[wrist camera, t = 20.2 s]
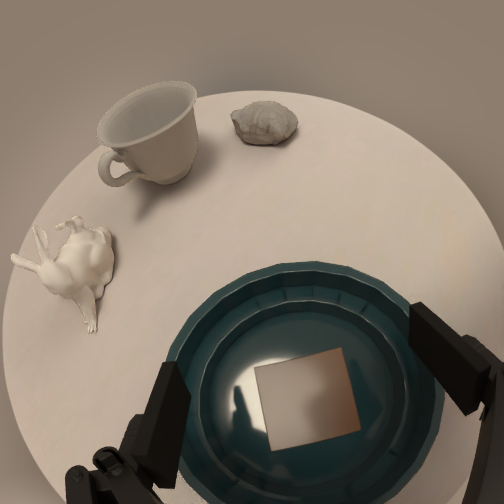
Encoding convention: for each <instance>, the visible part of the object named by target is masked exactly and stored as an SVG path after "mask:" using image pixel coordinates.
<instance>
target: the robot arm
mask: <svg viewBox="0 0 504 504" xmlns="http://www.w3.org/2000/svg"><path fill="white" fill-rule="evenodd" d="M408 345H409V347H410V348H411V349H412V350H413V351H414V353H415V354H416V355H417V356H418V357H419V359H420V360H421V361H422V362H423V363H424V365H425V366H426V367H427V368H428V369H429V371H430V372H431V373H432V374H433V376H434V377H435V378H436V379H437V381H438V382H439V383H440V384H441V386H442V387H443V388H444V389H445V391H446V392H447V393H448V395H449V396H450V397H451V398H452V400H453V401H454V402H455V404H456V405H457V406H458V407H459V409H460V410H461V411H462V413H463V414H464V415H465V416H467V415H469V414H471V413H472V412H474V411H476V410H478V407H479V404H480V402H481V401H482V402H483V404H484V405H485V406H484V409H483V411H482V414H481V416H480V419H479V420H481V419H482V421H481V428H480V433H479V439H478V444H477V449H476V454H475V458H474V462H473V466H472V470H471V474H470V478H469V482H468V485H467V489H466V492H465V495H464V498H463V501H462V504H504V362H502V361H500V360H499V359H498V358H497V357H496V356H495V355H494V354H493V353H492V352H491V351H489V350H488V349H487V348H486V347H485V346H484V345H483V344H481V343H480V342H479V341H478V340H477V339H476V338H474V337H472V336H469V335H467V334H466V335H464V336H462V337H461V336H460V335H459V334H457V333H456V332H455V331H454V330H453V329H452V328H451V327H450V326H448V325H447V324H446V323H445V322H444V321H443V320H442V319H440V318H439V317H438V316H437V315H436V314H435V313H433V312H432V311H431V310H430V309H429V308H428V307H426V306H425V305H424V304H423V303H422V302H417V303H415V304H412V305H409V339H408ZM191 398H192V396H191V394H190V392H189V390H188V388H187V385H186V383H185V381H184V379H183V377H182V375H181V372H180V370H179V368H178V366H177V363H176V361H169V362H163V363H162V365H161V368H160V371H159V373H158V376H157V379H156V381H155V384H154V387H153V390H152V392H151V395H150V398H149V401H148V403H147V406H146V409H145V412H144V414H136V415H135V416H134V417H133V418H132V419H131V420H130V422H129V424H128V427H127V431H126V432H125V435H124V437H123V440H122V443H121V445H120V448H119V451H118V450H117V449H116V448H114V447H111V446H110V447H104V448H101V449H99V450H98V451H97V452H96V453H95V454H94V456H93V459H92V460H93V464H94V465H95V466H96V467H97V469H98V470H94V471H88V470H87V469H86V468H85V467H84V466H81V465H77V466H74V467H71V468H70V469H69V470H68V471H67V473H66V476H65V487H66V501H67V504H164V503H163V502H162V501H161V499H160V498H159V497H158V495H157V494H156V493H155V491H154V490H153V489H152V487H153V482H154V483H155V484H156V485H157V487H158V488H165V489H175V484H176V478H177V472H178V467H179V461H180V455H181V450H182V445H183V439H184V434H185V429H186V423H187V418H188V413H189V408H190V403H191Z"/></svg>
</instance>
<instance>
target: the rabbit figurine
mask: <svg viewBox="0 0 504 504" xmlns="http://www.w3.org/2000/svg"><path fill="white" fill-rule="evenodd" d="M65 227H70V228H71V230H72V233H71V234H70V236H69V239H68V242H67V243H66V244H64V245H63V246H62V247H60V251H59V253H58V256H57V257H56V258H55V260H54V261H53V260H52V259H51V258H50V255H49V250H48V239H47V235H46V233H45V232H44V230H43V229H41V228H40V227H38V226H36V225H33V226H32V228H33V232H34V236H35V241H36V246H37V249H38V252H39V255H40V258H41V261H42V264H41V265H39V264H37V263H35V262H33V261H31V260H28V259H25V258H22V257H20V256H18V255H16V254H11V260H12V262H13V263H14V264H16V265H17V266H19V267H22V268H24V269H27V270H29V271H33V272H35V273H37V274H38V276H39V279H40V281H41V283H42V284H43V285H44V286H45V287H46V288H47V289H48V290H49V291H50V292H51V293H53V294H59V295H60V296H62V297H64V298H67V299H71V298H74V299H75V301H76V302H77V303H78V305H79V306H80V308H81V310H82V312H83V314H84V316H85V317H84V318H85V319H87V321H84V322H83V323H88V329H87V331H88V334H89V331H91V334H92V332H93V328H94V332H95V334H96V331H97V328H96V321H97V317H96V310H95V299H99V298H101V297H102V295H103V291H104V285H106V284H107V283H109V282H110V281H111V279H112V272H113V264H114V253H113V251H112V248H111V242H112V238H111V233H110V231H109V230H108V229H107V228H106V227H104V226H100V227H98V228H97V229H93V228H90V227H89V228H88V229H87V228H84V220H83V218H81V217H80V216H78V215H75V216H73V217H72V218H71V219H70V220H67V221H65V222H62V223H60V224H58V225H56V230H61V229H63V228H65ZM90 328H91V329H90Z"/></svg>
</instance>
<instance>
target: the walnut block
mask: <svg viewBox="0 0 504 504" xmlns="http://www.w3.org/2000/svg"><path fill="white" fill-rule="evenodd" d="M254 371H255V376H256V381H257V386H258V392H259V397H260V402H261V407H262V412H263V417H264V422H265V427H266V432H267V437H268V442H269V446H270V451H271V452H272V451H278V450H284V449H289V448H294V447H298V446H303V445H307V444H312V443H316V442H320V441H324V440H328V439H332V438H335V437H339V436H343V435H346V434H349V433H353V432H356V431H359V430H361V425H360V420H359V416H358V411H357V407H356V403H355V398H354V394H353V390H352V386H351V382H350V378H349V374H348V370H347V366H346V362H345V358H344V354H343V351H342V347H338V348H335V349H331V350H327V351H324V352H320V353H316V354H312V355H308V356H304V357H299V358H295V359H291V360H286V361H282V362H277V363H273V364H268V365H263V366H258V367H254Z"/></svg>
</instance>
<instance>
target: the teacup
mask: <svg viewBox="0 0 504 504" xmlns="http://www.w3.org/2000/svg"><path fill="white" fill-rule="evenodd" d="M196 96H197V93H196V90H195V88H194V87H193V86H191V85H190V84H187V83H185V82H180V81H166V82H160V83H155V84H152V85H148V86H146V87H143V88H141V89H139V90H137V91H135V92H133V93H131V94H129V95H127V96H126V97H124V98H123V99H121V100H120V101H119V102H117V103H116V104H115V105H114V106H112V107H111V108H110V109H109V110H108V111H107V113H106V114H105V115H104V116H103V118H102V119H101V121H100V123H99V126H98V129H97V134H96V135H97V140H98V141H99V143H100V144H102V145H104V146H107V147H111V148H112V149H113V150H114V151H108V152H106V153H104V154H103V155H102V156H101V158H100V160H99V162H98V173H99V175H100V178H101V179H102V181H103V182H104V183H105V184H107V185H109V186H111V187H121V186H124V185H125V184H127V183H129V182H130V181H131V180H132V179H134V178H136V177H140V178H142V179H144V180H149V181H154V182H155V183H157V184H161V185H167V184H172V183H175V182H177V181H179V180H180V179H182V178H183V177H185V176H186V175H187V174H188V172H189V171H190V169H191V167H192V161H193V159H194V158H195V156H196V153H197V150H198V133H197V127H196V122H195V116H194V109H193V105H194V103H195V101H196V98H197V97H196ZM113 160H114V161H116V162H120V163H122V162H124V164H125V165H126V166H127V167H128V168H129V169H130V170H131V172H127V173H125V174H123V175H122V176H120V177H119V178H113V177H112V176H111V174H110V164H111V162H112V161H113Z"/></svg>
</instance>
